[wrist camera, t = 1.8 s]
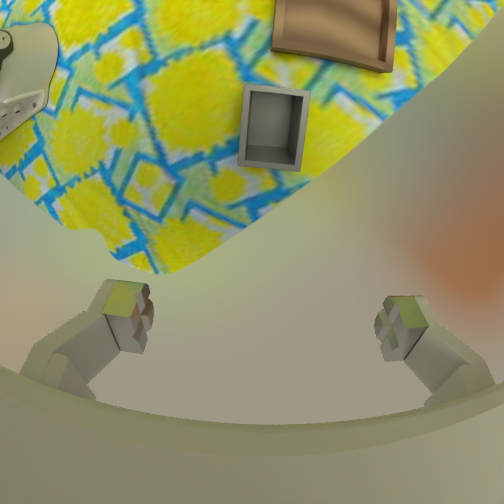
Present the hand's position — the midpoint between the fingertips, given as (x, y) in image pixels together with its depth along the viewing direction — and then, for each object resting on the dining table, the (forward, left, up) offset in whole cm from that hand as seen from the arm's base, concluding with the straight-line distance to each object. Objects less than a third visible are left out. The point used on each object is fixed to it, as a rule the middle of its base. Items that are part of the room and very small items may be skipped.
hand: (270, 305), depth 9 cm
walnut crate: (+15, +13, -29) cm, 35 cm away
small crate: (+2, +2, -29) cm, 29 cm away
